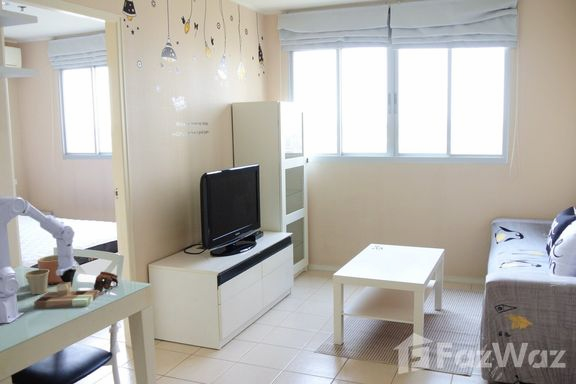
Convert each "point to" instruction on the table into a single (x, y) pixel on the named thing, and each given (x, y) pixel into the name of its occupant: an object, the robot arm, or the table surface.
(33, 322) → the table surface
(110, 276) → the pottery mug
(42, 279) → the flower pot
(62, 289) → the birch block
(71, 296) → the board
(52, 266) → the planter
